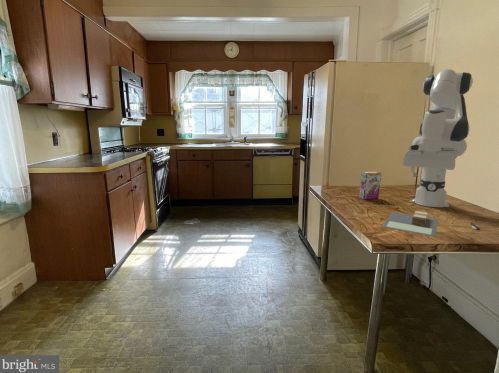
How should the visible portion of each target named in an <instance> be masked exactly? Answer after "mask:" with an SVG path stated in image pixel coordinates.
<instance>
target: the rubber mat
mask: <svg viewBox="0 0 499 373" xmlns="http://www.w3.org/2000/svg"><path fill="white" fill-rule="evenodd" d="M413 216H414V214H408V213H407V214H406V213H402V212H395V211H391V213H390V214H389V216H388V217H387V218H386V220H385V221H384V222H383V224H382V226H381V227H382V228H386V229H392V230H396V231H403V232H408V233H413V234H418V235H419V234H420V235H424V236H428V237H434V238H436V232H437V226H438V219H437V218H432V217H427V219H426V223H425V226H419V225H414V224H412V219H413Z"/></svg>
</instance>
